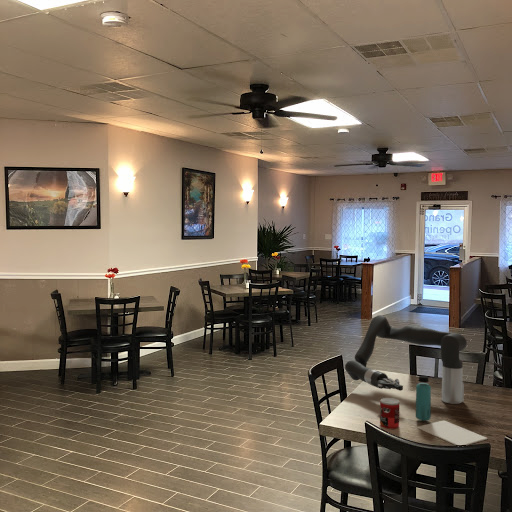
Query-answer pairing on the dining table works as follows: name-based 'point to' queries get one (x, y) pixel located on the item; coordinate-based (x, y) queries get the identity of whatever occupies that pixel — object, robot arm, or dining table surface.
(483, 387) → the dining table surface
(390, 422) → the canned food
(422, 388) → the beverage bottle
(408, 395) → the dining table surface
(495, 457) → the dining table surface
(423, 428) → the mat
